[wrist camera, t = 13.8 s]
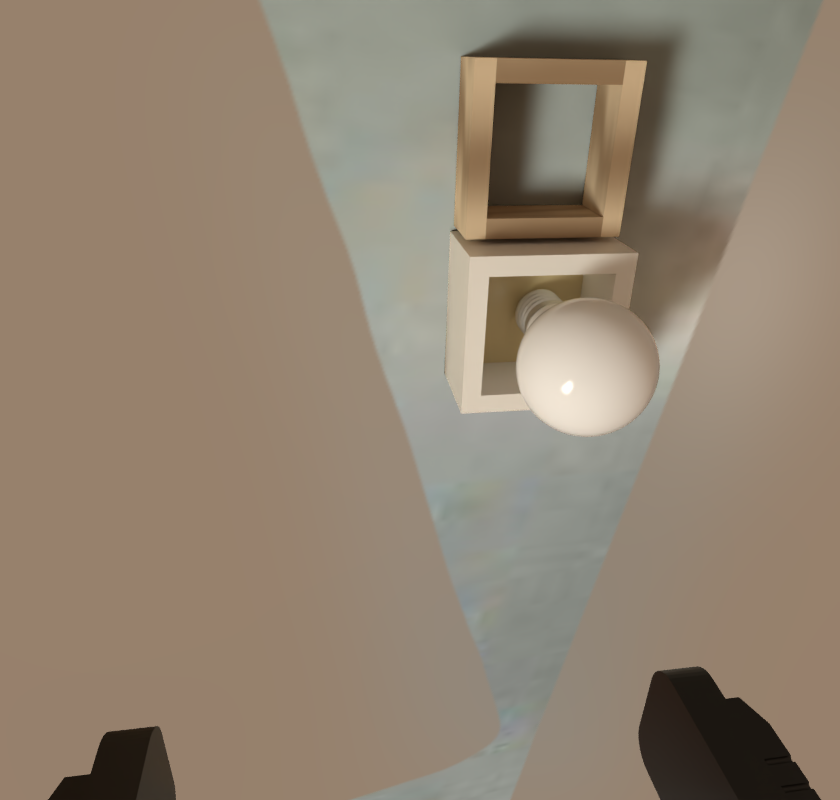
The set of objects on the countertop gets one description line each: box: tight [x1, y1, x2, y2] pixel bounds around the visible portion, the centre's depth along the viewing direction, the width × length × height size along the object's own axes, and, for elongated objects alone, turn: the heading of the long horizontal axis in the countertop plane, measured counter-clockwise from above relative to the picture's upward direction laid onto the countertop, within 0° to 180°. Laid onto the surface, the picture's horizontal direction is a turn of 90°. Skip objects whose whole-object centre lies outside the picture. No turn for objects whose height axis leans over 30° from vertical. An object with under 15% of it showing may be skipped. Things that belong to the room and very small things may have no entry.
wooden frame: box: [454, 57, 647, 240], centre depth 33 cm, size 8×8×3 cm
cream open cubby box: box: [444, 231, 639, 414], centre depth 36 cm, size 8×8×5 cm
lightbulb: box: [515, 289, 660, 437], centre depth 33 cm, size 6×6×11 cm
